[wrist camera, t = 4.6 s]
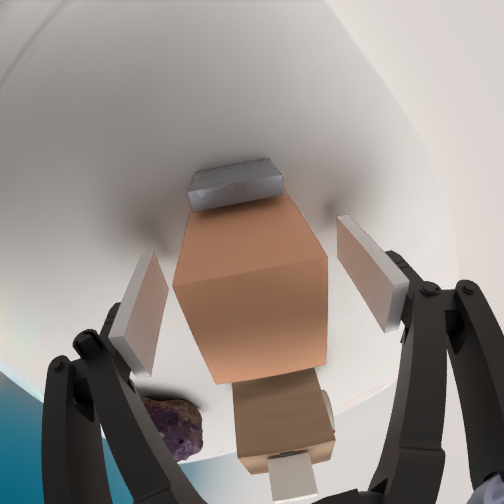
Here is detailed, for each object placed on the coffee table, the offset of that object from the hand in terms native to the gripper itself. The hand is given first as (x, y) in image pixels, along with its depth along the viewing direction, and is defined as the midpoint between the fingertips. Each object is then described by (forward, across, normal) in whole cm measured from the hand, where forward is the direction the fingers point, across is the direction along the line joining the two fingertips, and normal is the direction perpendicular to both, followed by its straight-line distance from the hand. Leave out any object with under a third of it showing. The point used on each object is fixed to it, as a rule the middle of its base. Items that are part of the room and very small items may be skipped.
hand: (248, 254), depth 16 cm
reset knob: (-7, 0, -14) cm, 15 cm away
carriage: (+3, 0, 0) cm, 3 cm away
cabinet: (+3, 0, -15) cm, 15 cm away
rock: (+3, -15, -20) cm, 25 cm away
